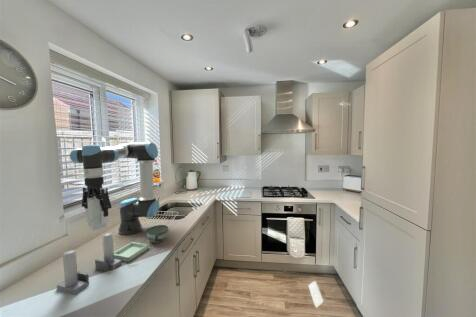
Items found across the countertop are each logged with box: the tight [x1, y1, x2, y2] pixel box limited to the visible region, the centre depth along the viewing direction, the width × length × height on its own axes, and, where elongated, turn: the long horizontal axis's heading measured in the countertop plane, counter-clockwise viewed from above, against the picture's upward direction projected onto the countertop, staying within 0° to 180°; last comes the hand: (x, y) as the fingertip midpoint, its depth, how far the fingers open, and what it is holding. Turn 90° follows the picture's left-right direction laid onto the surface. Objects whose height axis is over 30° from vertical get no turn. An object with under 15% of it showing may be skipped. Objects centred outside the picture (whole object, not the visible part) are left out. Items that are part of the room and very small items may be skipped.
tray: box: [114, 241, 149, 263], centre depth 116 cm, size 13×15×2 cm
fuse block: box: [56, 232, 123, 295], centre depth 97 cm, size 11×23×16 cm, turn 162°
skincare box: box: [87, 196, 107, 231], centre depth 99 cm, size 8×6×15 cm
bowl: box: [145, 224, 169, 244], centre depth 131 cm, size 14×13×8 cm
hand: (97, 221), depth 99 cm, fingers closed on skincare box, 9 cm apart
